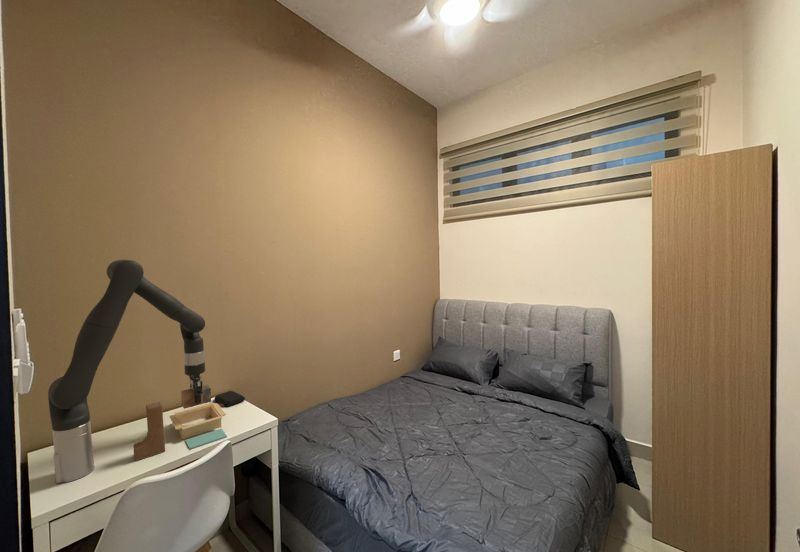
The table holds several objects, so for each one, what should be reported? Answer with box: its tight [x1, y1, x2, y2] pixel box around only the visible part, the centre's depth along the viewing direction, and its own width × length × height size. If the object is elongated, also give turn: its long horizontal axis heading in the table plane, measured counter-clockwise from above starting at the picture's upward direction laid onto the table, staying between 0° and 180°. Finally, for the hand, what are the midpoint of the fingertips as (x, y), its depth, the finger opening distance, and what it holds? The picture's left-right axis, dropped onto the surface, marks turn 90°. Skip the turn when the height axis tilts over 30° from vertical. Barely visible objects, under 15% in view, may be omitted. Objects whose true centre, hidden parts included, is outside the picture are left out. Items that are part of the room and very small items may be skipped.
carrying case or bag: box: [214, 390, 246, 408], centre depth 172 cm, size 11×3×15 cm
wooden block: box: [132, 401, 166, 462], centre depth 127 cm, size 9×4×18 cm, turn 131°
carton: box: [169, 402, 227, 440], centre depth 147 cm, size 18×19×5 cm
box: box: [180, 384, 212, 410], centre depth 146 cm, size 10×5×6 cm, turn 131°
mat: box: [185, 428, 228, 450], centre depth 137 cm, size 13×8×1 cm, turn 131°
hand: (196, 401), depth 147 cm, fingers closed on box, 5 cm apart
